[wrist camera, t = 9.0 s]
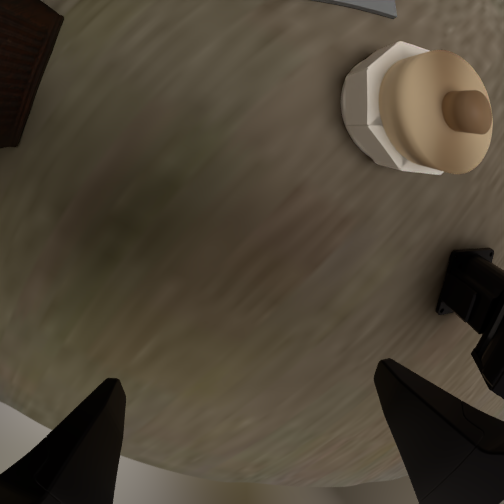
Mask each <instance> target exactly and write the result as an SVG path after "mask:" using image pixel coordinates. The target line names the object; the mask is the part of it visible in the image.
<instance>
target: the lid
mask: <svg viewBox="0 0 504 504" xmlns="http://www.w3.org/2000/svg"><path fill="white" fill-rule="evenodd" d="M379 111H380V117H381V121H382V124H383V127H384V130H385V132H386V134H387V136H388V138H389V140H390V142H391V143H392V145H393V146H394V147H395V149H396V150H397V151H398V152H399V153H400V154H401V155H402V156H403V157H405V158H406V159H407V160H409V161H411V162H412V163H415V164H417V165H421V166H425V167H429V168H433V169H436V170H440V171H444V172H447V173H452V174H463V173H467V172H469V171H471V170H473V169H474V168H475V167H476V166H478V165H479V163H480V162H481V161H482V160H483V158H484V156H485V155H486V153H487V150H488V148H489V145H490V141H491V136H492V126H493V120H492V110H491V105H490V100H489V97H488V94H487V91H486V89H485V87H484V85H483V83H482V81H481V79H480V77H479V76H478V74H477V73H476V72H475V70H474V69H473V68H472V67H471V66H470V65H469V63H467V62H466V61H465V60H464V59H463V58H461V57H460V56H458V55H456V54H454V53H452V52H449V51H446V50H433V51H429V52H425V53H422V54H418V55H415V56H411V57H408V58H404V59H401V60H399V61H397V62H396V63H394V64H393V65H392V66H391V67H390V68H389V69H388V70H387V72H386V73H385V75H384V77H383V80H382V82H381V86H380V91H379Z"/></svg>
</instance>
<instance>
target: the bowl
mask: <svg viewBox="0 0 504 504" xmlns="http://www.w3.org/2000/svg"><path fill="white" fill-rule="evenodd" d="M425 52H429V50H426V49H423V48H420V47H418V46H415V45H412V44H408V43H405V42H402V41H398V42H396V43H393V44H391V45H388V46H386V47H384V48H381V49H379V50H377V51H375V52H374V53H373V54H371V55H370V56H369V57H368V58H367V59H365V60H363V61H361V62H360V63H358V64H357V65H355V66H354V67H353V68H352V69H351V71H350V72H349V74H348V75H346V76H347V77H345V81H344V84H343V87H342V92H341V112H342V118H343V121H344V124H345V127H346V129H347V131H348V133H349V135H350V137H351V139H352V140H353V141H354V143H355V144H356V145H357V146H358V148H359V149H360V150H361V151H362V152H364V153H365V154H366V155H367V156H369V157H370V158H372V159H373V161H374V162H375V163H376V164H377V165H381V166H385V167H389V168H393V169H396V170H400V171H408V172H418V173H427V174H435V175H440V174H442V173H443V172H444V171H440V170H436V169H433V168H429V167H425V166H421V165H417V164H415V163H412V162H411V161H409V160H407V159H406V158H405V157H403V156H402V155H401V154H400V153H399V152H398V151H397V150H396V149H395V147H394V146H393V145H392V143H391V142H390V140H389V138H388V136H387V134H386V132H385V130H384V127H383V124H382V121H381V117H380V111H379V91H380V86H381V82H382V80H383V77H384V75H385V73H386V72H387V70H388V69H389V68H390V67H391V66H392V65H393V64H394V63H396V62H397V61H399V60H401V59H404V58H408V57H411V56H415V55H418V54H422V53H425Z"/></svg>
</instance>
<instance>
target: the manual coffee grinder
mask: <svg viewBox="0 0 504 504" xmlns="http://www.w3.org/2000/svg"><path fill="white" fill-rule="evenodd" d="M63 20H64V17H63V16H62V15H59V14H58V13H57V12H55V11H54V10H53V9H51V8H50V7H49V6H48V5H46V4H45V3H43V2H42V1H40V0H0V148H4V147H17V146H18V143H19V140H20V137H21V134H22V131H23V129H24V126H25V123H26V121H27V118H28V116H29V113H30V110H31V107H32V104H33V101H34V98H35V95H36V92H37V89H38V86H39V83H40V81H41V78H42V75H43V73H44V70H45V68H46V65H47V63H48V60H49V58H50V55H51V53H52V50H53V47H54V44H55V41H56V39H57V36H58V33H59V30H60V27H61V25H62V22H63Z"/></svg>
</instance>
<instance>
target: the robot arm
mask: <svg viewBox="0 0 504 504" xmlns="http://www.w3.org/2000/svg"><path fill="white" fill-rule="evenodd" d="M493 255H494V250H492V249H491V248H485V249H469V250H455V251H453V252H452V254H451V257H450V261H449V265H448V269H447V273H446V277H445V281H444V284H443V288H442V292H441V295H440V298H439V302H438V305H437V308H436V312H437V313H438V314H439V315H443V314H448V313H452V312H455V313H456V314H457V315H458V316H459V317H460V318H461V319H462V320H463V321H464V322H467V323H468V324H469V325H470V326H471V327H472V328H473V329H474V330H475V331H476V332H477V333H478V334H482V337H481V338H480V340H479V342H478V344H477V346H476V347H475V348H474V349H473V351H472V353H471V355H472V357H473V359H474V361H475V363H476V365H477V366H478V368H479V370H480V372H481V374H482V376H483V378H484V380H485V382H486V384H487V386H488V388H489V389H490V390H491V391H493V392H494V393H495V394H497V395H499V396H501V397H502V398H503V399H504V270H502V269H501V268H499V267H497V266H496V265H494V264H493V263H492V259H493ZM455 256H456V257H455ZM374 383H375V386H376V389H377V393H378V396H379V399H380V403H381V406H382V410H383V413H384V416H385V418H386V421H387V423H388V425H389V428H390V430H391V433H392V435H393V437H394V440H395V442H396V445H397V447H398V450H399V452H400V455H401V457H402V460H403V462H404V465H405V467H406V470H407V472H408V475H409V477H410V480H411V483H412V485H413V488H414V491H415V493H416V496H417V499H418V501H419V504H504V421H501V420H499V419H497V418H495V417H492V416H490V415H488V414H486V413H484V412H482V411H480V410H478V409H476V408H474V407H472V406H470V405H469V404H467V403H465V402H463V401H461V400H460V399H458V398H456V397H455V396H453V395H451V394H450V393H448V392H446V391H445V390H443V389H441V388H439V387H438V386H436V385H434V384H433V383H431V382H429V381H428V380H426V379H424V378H423V377H421V376H419V375H418V374H416V373H414V372H412V371H411V370H409V369H407V368H406V367H404V366H402V365H401V364H399V363H398V362H396V361H394V360H393V359H390V358H388V359H383V360H380V361H379V363H378V366H377V369H376V372H375V375H374ZM125 406H126V395H125V392H124V390H123V387H122V385H121V382H120V380H119V379H117V378H107V379H105V380H104V381H103V382H102V383H101V384H100V385H99V386H98V387H97V388H96V389H95V390H94V391H93V392H92V393H91V394H90V395H89V396H88V397H87V398H86V399H85V400H83V401H82V402H81V403H80V404H79V405H78V406H77V407H76V408H75V409H74V410H73V411H72V412H71V413H70V414H69V415H68V416H67V417H66V418H65V419H64V420H63V421H62V422H61V423H60V424H59V425H57V426H56V427H55V428H54V429H53V430H52V431H51V432H50V433H49V434H48V435H47V438H46V437H45V438H44V439H43V440H42V441H41V442H40V443H39V444H38V445H37V446H35V447H34V448H33V449H32V450H31V451H30V452H29V453H27V454H26V455H25V456H24V457H23V458H21V459H20V460H19V461H17V462H16V463H15V464H13V465H12V466H11V467H9V468H8V469H7V470H6V471H4V472H3V473H2V474H0V504H113V498H114V490H115V483H116V476H117V470H118V464H119V458H120V452H121V447H122V441H123V432H124V418H125Z"/></svg>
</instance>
